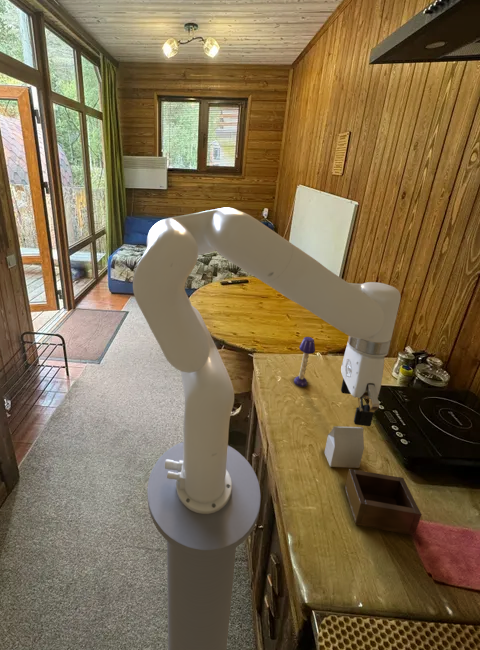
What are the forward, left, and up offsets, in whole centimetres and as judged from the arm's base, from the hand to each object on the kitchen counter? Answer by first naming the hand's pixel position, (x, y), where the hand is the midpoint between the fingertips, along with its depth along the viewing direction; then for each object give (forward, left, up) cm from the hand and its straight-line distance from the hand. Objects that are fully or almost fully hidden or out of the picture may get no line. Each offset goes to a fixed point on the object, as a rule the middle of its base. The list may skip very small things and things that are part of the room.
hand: (354, 407), depth 69 cm
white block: (0, 0, -16) cm, 16 cm away
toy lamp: (-5, +28, -16) cm, 33 cm away
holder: (+4, -11, -16) cm, 20 cm away
